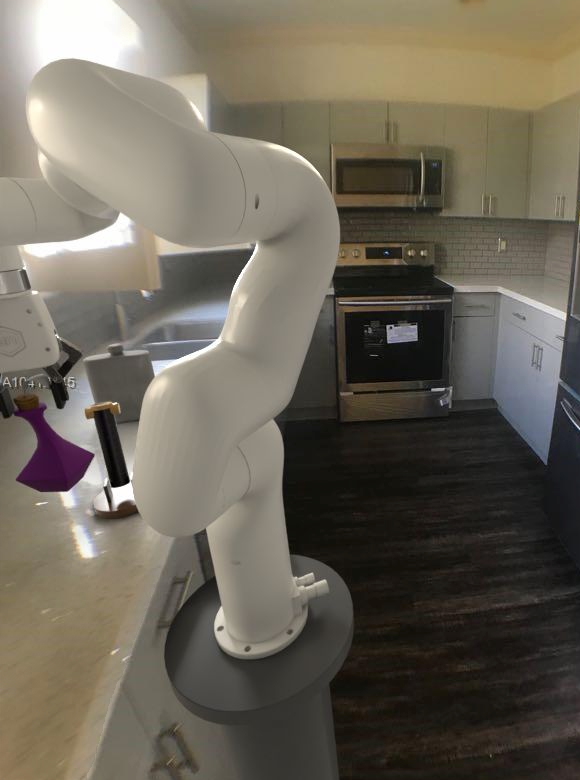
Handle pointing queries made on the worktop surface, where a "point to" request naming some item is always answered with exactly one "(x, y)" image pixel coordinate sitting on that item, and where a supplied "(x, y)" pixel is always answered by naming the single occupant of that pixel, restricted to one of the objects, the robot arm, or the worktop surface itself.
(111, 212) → the robot arm
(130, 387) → the flask
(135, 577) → the worktop surface
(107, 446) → the rod
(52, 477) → the perfume bottle
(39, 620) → the worktop surface
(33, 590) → the worktop surface
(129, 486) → the holder base
